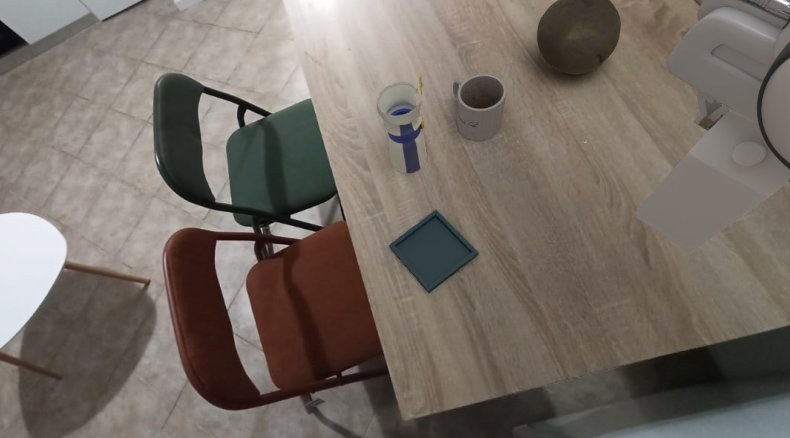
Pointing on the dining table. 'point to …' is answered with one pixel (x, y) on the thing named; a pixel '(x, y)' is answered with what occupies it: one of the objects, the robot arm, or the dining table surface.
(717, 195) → the milk carton
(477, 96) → the mug
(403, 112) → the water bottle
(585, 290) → the dining table surface
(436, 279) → the tray
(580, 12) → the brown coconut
